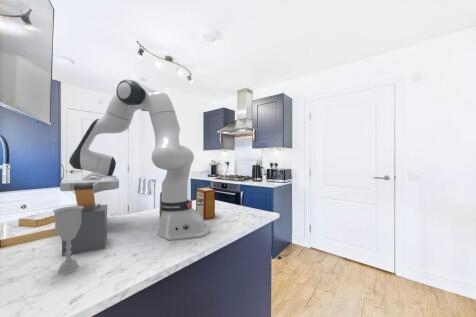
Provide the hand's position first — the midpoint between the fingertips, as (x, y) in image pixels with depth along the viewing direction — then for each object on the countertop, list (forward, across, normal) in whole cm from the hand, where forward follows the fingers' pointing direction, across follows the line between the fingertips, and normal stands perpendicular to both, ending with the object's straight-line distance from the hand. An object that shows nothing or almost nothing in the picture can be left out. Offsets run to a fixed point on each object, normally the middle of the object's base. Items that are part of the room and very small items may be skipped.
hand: (89, 187), depth 80 cm
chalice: (+22, -2, +21) cm, 31 cm away
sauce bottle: (-19, +32, +21) cm, 43 cm away
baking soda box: (-9, +52, +21) cm, 57 cm away
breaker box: (+6, 0, +21) cm, 22 cm away
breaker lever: (+6, 0, +6) cm, 9 cm away
